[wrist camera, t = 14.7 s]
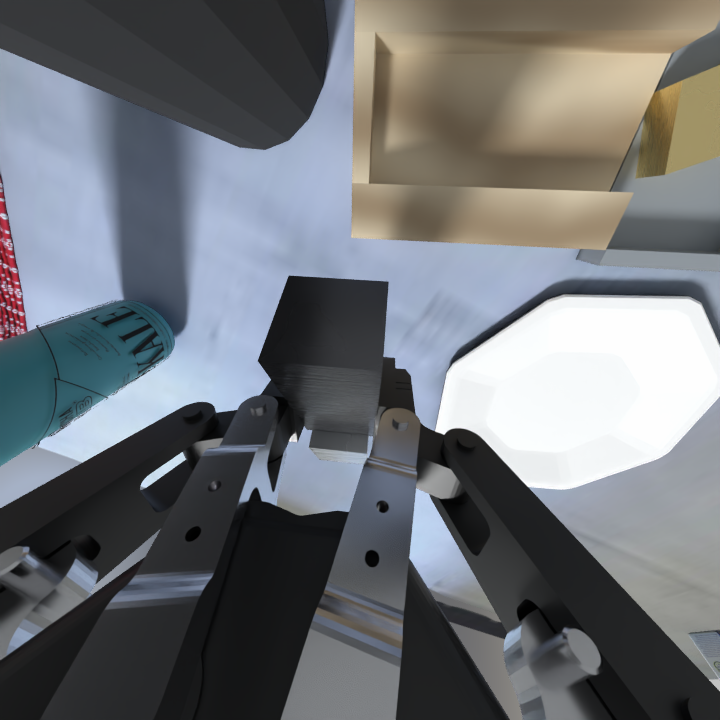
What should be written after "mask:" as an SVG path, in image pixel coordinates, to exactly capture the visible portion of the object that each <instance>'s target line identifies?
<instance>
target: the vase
mask: <svg viewBox="0 0 720 720" xmlns="http://www.w3.org/2000/svg"><path fill="white" fill-rule="evenodd" d="M0 48H1V49H3V50H6V51H8V52H10V53H13V54H15V55H18V56H20V57H23V58H25V59H27V60H30V61H32V62H35V63H37V64H39V65H42V66H44V67H47V68H49V69H52V70H54V71H56V72H59V73H61V74H64V75H66V76H68V77H71V78H73V79H76V80H78V81H81V82H83V83H85V84H88V85H90V86H93V87H95V88H97V89H100V90H102V91H105V92H107V93H110V94H112V95H114V96H117V97H119V98H122V99H124V100H126V101H129V102H131V103H134V104H136V105H139V106H141V107H143V108H146V109H148V110H151V111H153V112H155V113H158V114H160V115H163V116H165V117H168V118H170V119H172V120H175V121H177V122H180V123H182V124H184V125H187V126H189V127H192V128H194V129H197V130H199V131H201V132H204V133H206V134H209V135H211V136H214V137H216V138H218V139H221V140H223V141H226V142H228V143H230V144H233V145H235V146H238V147H242V148H252V149H263V150H266V149H268V148H271V147H273V146H276V145H278V144H281V143H283V142H286V141H288V140H290V139H291V137H292V136H293V135H294V134H295V133H296V132H297V131H298V130H299V129H300V128H301V127H302V126H303V125H304V123H305V122H306V121H307V120H308V119H309V117H310V115H311V112H312V110H313V108H314V105H315V103H316V101H317V98H318V96H319V94H320V91H321V89H322V86H323V80H324V73H325V65H326V57H327V50H328V33H327V23H326V13H325V3H324V0H0Z"/></svg>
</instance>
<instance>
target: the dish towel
mask: <svg viewBox="0 0 720 720" xmlns="http://www.w3.org/2000/svg"><path fill="white" fill-rule="evenodd" d="M24 333H27V328H26V321H25V311H24V307H23V299H22V291H21V285H20V280H19V275H18V268H17V265H16V261H15V255H14V247H13V242H12V238H11V232H10V226H9V220H8V214H7V212H6V206H5V198H4V192H3V184H2V181H1V177H0V341H3V340H6V339H9V338H12V337H15V336H18V335H21V334H24Z"/></svg>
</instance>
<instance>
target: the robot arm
mask: <svg viewBox="0 0 720 720" xmlns="http://www.w3.org/2000/svg"><path fill="white" fill-rule="evenodd" d="M303 427H304V423H303V422H302V420H301V419H300V417H299V416H298V415H297V413H296V412H295V410H294V409H293V408H291V407H290V405H289V404H288V402H287V401H286V400H285V398H284V397H283V395H282V394H281V393H280V391H279V390H278V388H277V387H276V386H275V384H274V383H273V381H272V380H271V381H270V382H269V384H268V385H267V386H266V388H265V389H264V391H263V392H262V394H261V395H259V396H254V397H251V398H249V399H247V400H246V401H244V402H243V403H242V404H241V405H240V406H239V408H238V410H234V411H227V412H219V413H216V411H215V408H214V406H213V405H212V404H210V403H207V402H197V403H192V404H189V405H186V406H184V407H182V408H180V409H178V410H176V411H175V412H173V413H171V414H169V415H167V416H166V417H164V418H162V419H160V420H159V421H157V422H155V423H153V424H151V425H150V426H148V427H146V428H144V429H142V430H141V431H139V432H137V433H135V434H133V435H132V436H130V437H128V438H126V439H124V440H123V441H121V442H119V443H117V444H115V445H114V446H112V447H110V448H108V449H106V450H105V451H103V452H101V453H99V454H97V455H96V456H94V457H92V458H90V459H88V460H87V461H85V462H83V463H81V464H79V465H78V466H76V467H74V468H72V469H70V470H69V471H67V472H65V473H63V474H61V475H60V476H58V477H56V478H54V479H52V480H51V481H49V482H47V483H46V484H44V485H42V486H40V487H38V488H36V489H34V490H33V491H31V492H29V493H28V494H25V495H24V496H22V497H20V498H19V499H17V500H15V501H13V502H11V503H9V504H7V505H6V506H4V507H2V508H0V720H510V719H509V718H508V716H507V714H506V713H505V711H504V709H503V708H502V706H501V705H500V703H499V701H498V700H497V698H496V697H495V695H494V693H493V692H492V690H491V689H490V687H489V685H488V684H487V682H486V681H485V679H484V677H483V676H482V674H481V673H480V671H479V669H478V668H477V666H476V665H475V663H474V661H473V660H472V658H471V657H470V655H469V653H468V652H467V650H466V649H465V647H464V645H463V644H462V642H461V641H460V639H459V637H458V636H457V634H456V632H455V631H454V629H453V628H452V626H451V625H450V623H449V621H448V620H447V618H446V616H445V615H444V613H443V612H442V610H441V608H440V607H439V605H438V604H437V602H436V600H435V599H434V597H433V596H432V594H431V592H430V591H429V589H428V588H427V586H426V584H425V583H424V581H423V580H422V578H421V576H420V575H419V573H418V572H417V570H416V568H415V567H414V565H413V564H412V562H411V560H410V559H409V554H410V544H411V534H412V523H413V513H414V503H415V492H416V488H417V489H420V490H422V491H424V492H426V493H429V495H430V497H431V500H432V501H433V503H434V505H435V507H436V508H437V510H438V512H439V514H440V515H441V517H442V519H443V521H444V522H445V524H446V526H447V528H448V529H449V531H450V533H451V535H452V536H453V538H454V540H455V542H456V543H457V545H458V547H459V549H460V550H461V552H462V554H463V556H464V557H465V559H466V561H467V563H468V564H469V566H470V568H471V570H472V571H473V573H474V575H475V577H476V579H477V580H478V582H479V584H480V586H481V587H482V589H483V591H484V593H485V594H486V596H487V598H488V600H489V601H490V603H491V605H492V607H493V608H494V610H495V612H496V614H497V615H498V617H499V619H500V620H501V622H502V624H503V626H504V628H505V629H506V631H507V633H508V634H507V636H506V638H505V642H504V661H505V665H506V669H507V672H508V675H509V678H510V681H511V683H512V685H513V688H514V690H515V692H516V695H517V698H518V701H519V704H520V708H521V713H522V719H523V720H720V691H719V690H718V689H717V688H716V687H715V686H714V685H713V684H712V683H711V682H710V681H709V680H708V679H707V677H706V676H705V675H704V674H703V673H702V672H701V671H700V670H699V669H698V668H697V667H696V666H695V665H694V664H693V663H692V661H691V660H690V659H689V658H688V657H687V656H686V655H685V654H684V653H683V652H682V651H681V650H680V649H679V648H678V647H677V645H676V644H675V643H674V642H673V641H672V640H671V639H670V638H669V637H668V636H667V635H666V634H665V633H664V632H663V631H662V629H661V628H660V627H659V626H658V625H657V624H656V623H655V622H654V621H653V620H652V619H651V618H650V617H649V616H648V615H647V613H646V612H645V611H644V610H643V609H642V608H641V607H640V606H639V605H638V604H637V603H636V602H635V601H634V600H633V599H632V598H631V596H630V595H629V594H628V593H627V592H626V591H625V590H624V589H623V588H622V587H621V586H620V585H619V584H618V583H617V582H616V580H615V579H614V578H613V577H612V576H611V575H610V574H609V573H608V572H607V571H606V570H605V569H604V568H603V567H602V566H601V564H600V563H599V562H598V561H597V560H596V559H595V558H594V557H593V556H592V555H591V554H590V553H589V552H588V551H587V550H586V548H585V547H584V546H583V545H582V544H581V543H580V542H579V541H578V540H577V539H576V538H575V537H574V536H573V535H572V534H571V532H570V531H569V530H568V529H567V528H566V527H565V526H564V525H563V524H562V523H561V522H560V521H559V520H558V519H557V518H556V516H555V515H554V514H553V513H552V512H551V511H550V510H549V509H548V508H547V507H546V506H545V505H544V504H543V503H542V502H541V500H540V499H539V498H538V497H537V496H536V495H535V494H534V493H533V492H532V491H531V490H530V489H529V488H528V487H527V486H526V484H525V483H524V482H523V481H522V480H521V479H520V478H519V477H518V476H517V475H516V474H515V473H514V472H513V471H512V470H511V469H510V467H509V466H508V465H507V464H506V463H505V462H504V461H503V460H502V459H501V458H500V457H499V456H498V455H497V454H496V453H495V451H494V450H493V449H492V448H491V447H490V446H489V445H488V444H487V443H486V442H485V441H484V440H483V439H482V438H481V437H480V436H479V435H477V434H476V433H474V432H472V431H470V430H467V429H462V428H454V429H450V430H448V431H447V432H446V433H445V435H444V434H441V433H438V432H435V431H433V430H430V429H428V428H426V427H425V426H423V425H422V424H421V423H420V420H419V418H418V417H417V416H416V414H415V407H414V399H413V391H412V385H411V376H410V375H409V373H408V372H407V371H406V370H405V369H396V368H395V358H389V357H383V368H382V378H381V386H380V394H379V402H378V410H377V416H375V422H374V432H373V445H372V450H371V453H370V456H369V458H367V459H366V461H365V463H364V466H363V469H362V472H361V476H360V479H359V482H358V485H357V489H356V492H355V495H354V498H353V501H352V505H351V508H350V511H349V512H343V511H332V512H325V513H318V514H311V515H304V516H299V515H296V514H293V513H291V512H289V511H287V510H284V509H282V508H280V507H278V506H277V497H278V492H279V487H280V482H281V478H282V473H283V468H284V464H285V459H286V447H287V445H288V442H289V441H291V442H298V440H299V437H300V435H301V432H302V430H303ZM181 452H183V454H184V456H185V458H186V460H185V461H183V462H182V463H181V464H179V465H178V466H176V467H175V468H174V469H172V470H171V471H169V472H168V473H167V474H165V475H164V476H162V477H161V478H160V479H158V480H157V481H155V482H154V483H153V484H151V485H150V486H148V487H147V488H145V489H143V490H140V485H141V483H142V481H143V480H144V479H145V478H146V477H147V476H148V475H149V474H151V473H152V472H154V471H155V470H156V469H158V468H159V467H161V466H162V465H164V464H165V463H167V462H168V461H170V460H171V459H172V458H174V457H175V456H177V455H178V454H180V453H181ZM159 529H161V530H160V532H159V534H158V535H157V537H156V539H155V541H154V542H153V544H152V546H151V548H150V550H149V551H148V553H147V555H146V557H145V558H143V559H142V560H140V561H139V562H137V563H136V564H135V565H133V566H132V567H130V568H129V569H128V570H126V571H125V572H123V573H122V574H121V575H119V576H118V577H116V578H115V579H114V580H112V581H111V582H109V583H108V584H107V585H105V586H104V587H102V588H101V589H100V590H98V591H97V592H95V593H94V594H93V595H92V594H91V593H90V592H91V591H92V589H93V587H94V585H95V584H96V583H98V582H99V581H100V580H101V579H102V578H103V577H104V576H105V575H107V574H108V573H109V572H110V571H112V569H114V568H115V567H116V566H117V565H119V564H120V563H121V562H122V561H123V560H124V559H126V558H127V557H128V556H129V555H130V554H131V553H132V552H134V551H135V550H136V549H137V548H138V547H140V546H141V545H142V544H143V543H144V542H145V541H146V540H148V539H149V538H150V537H151V536H152V535H154V534H155V533H156V532H157V531H158V530H159Z"/></svg>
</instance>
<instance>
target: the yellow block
mask: <svg viewBox="0 0 720 720" xmlns="http://www.w3.org/2000/svg"><path fill="white" fill-rule="evenodd" d="M719 156H720V65H718V66H716V67H713V68H711V69H709V70H706V71H704V72H701V73H699V74H696V75H694V76H692V77H689V78H687V79H684V80H682V81H680V82H677V83H675V84H673V85H671V86H668V87H666V88H664V89H661V90H659V91H657V92H655V93H653V96H652V98H651V100H650V102H649V104H648V107H647V109H646V111H645V114H644V121H643V128H642V135H641V142H640V149H639V156H638V163H637V170H636V177H635V179H637V178H645V177H653V176H661V175H666V174H669V173H672V172H675V171H678V170H681V169H684V168H687V167H690V166H693V165H696V164H699V163H702V162H704V161H707V160H710V159H713V158H716V157H719Z"/></svg>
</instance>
